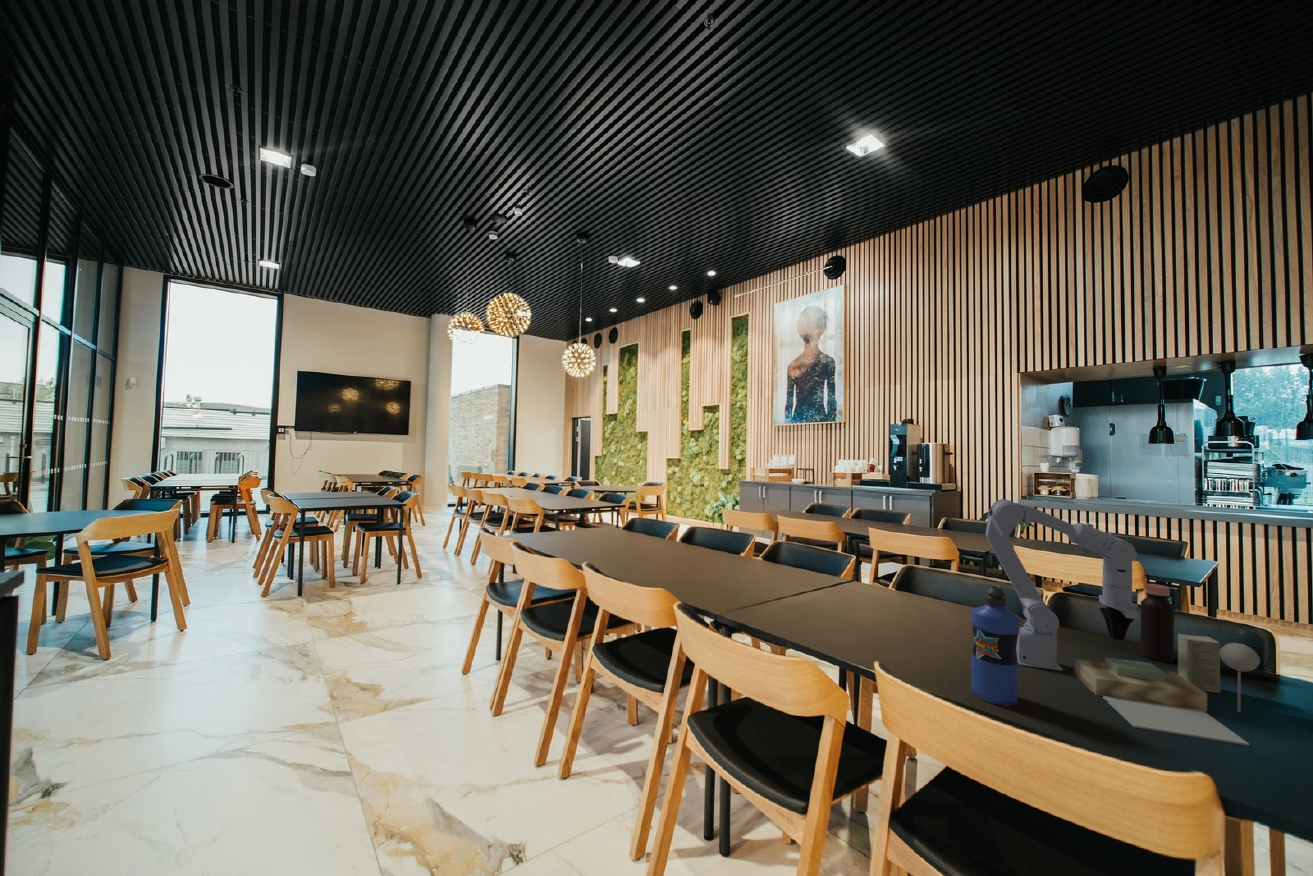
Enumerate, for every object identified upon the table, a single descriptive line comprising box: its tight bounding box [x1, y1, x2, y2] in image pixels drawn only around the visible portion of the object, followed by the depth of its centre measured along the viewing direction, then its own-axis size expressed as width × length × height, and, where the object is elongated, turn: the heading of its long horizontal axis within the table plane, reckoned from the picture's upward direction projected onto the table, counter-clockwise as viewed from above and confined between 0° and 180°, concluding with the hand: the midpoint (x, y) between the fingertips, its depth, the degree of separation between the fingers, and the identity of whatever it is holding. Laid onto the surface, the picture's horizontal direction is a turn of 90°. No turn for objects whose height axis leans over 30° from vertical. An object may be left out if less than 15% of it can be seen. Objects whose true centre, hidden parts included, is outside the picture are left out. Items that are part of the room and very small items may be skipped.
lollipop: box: [1219, 642, 1261, 713], centre depth 116 cm, size 6×6×15 cm
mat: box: [1101, 695, 1250, 747], centre depth 112 cm, size 18×14×1 cm
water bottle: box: [970, 586, 1021, 706], centre depth 120 cm, size 9×9×25 cm
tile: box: [1104, 657, 1165, 682], centre depth 125 cm, size 9×6×2 cm, turn 71°
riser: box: [1074, 658, 1208, 713], centre depth 124 cm, size 20×12×4 cm, turn 71°
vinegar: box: [1139, 583, 1175, 663], centre depth 146 cm, size 7×7×20 cm
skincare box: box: [1177, 633, 1221, 694], centre depth 128 cm, size 6×4×12 cm
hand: (1116, 638), depth 133 cm, fingers closed
